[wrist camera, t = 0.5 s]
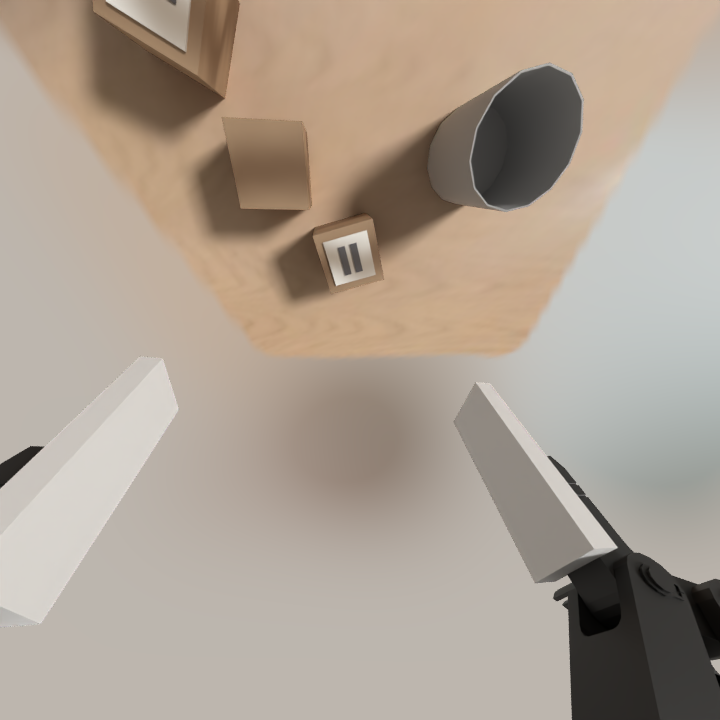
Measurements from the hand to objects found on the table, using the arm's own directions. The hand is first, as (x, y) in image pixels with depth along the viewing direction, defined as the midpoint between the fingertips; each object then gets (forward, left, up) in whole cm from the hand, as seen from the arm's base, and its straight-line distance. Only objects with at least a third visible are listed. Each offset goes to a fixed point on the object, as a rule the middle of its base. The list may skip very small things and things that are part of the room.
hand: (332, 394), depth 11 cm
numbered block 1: (-16, -13, -25) cm, 32 cm away
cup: (-13, +13, -25) cm, 31 cm away
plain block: (-8, -6, -25) cm, 27 cm away
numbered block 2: (-2, +2, -25) cm, 25 cm away
